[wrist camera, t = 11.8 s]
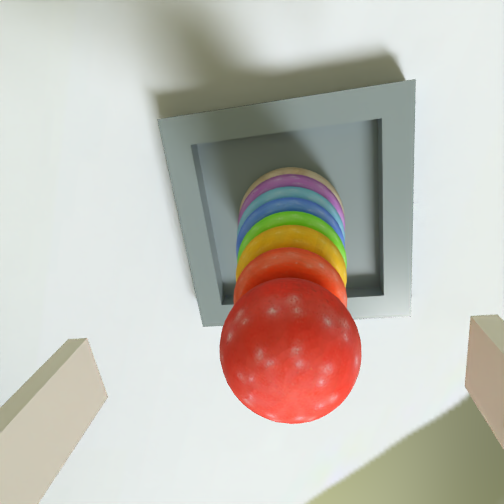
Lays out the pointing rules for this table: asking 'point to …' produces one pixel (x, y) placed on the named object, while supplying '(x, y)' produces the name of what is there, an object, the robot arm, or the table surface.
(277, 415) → the stacking toy
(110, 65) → the table surface
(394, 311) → the gray square tray
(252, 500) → the table surface
